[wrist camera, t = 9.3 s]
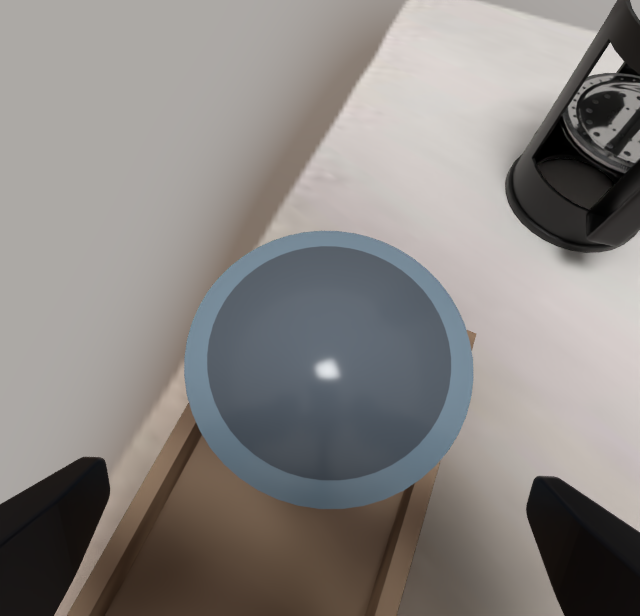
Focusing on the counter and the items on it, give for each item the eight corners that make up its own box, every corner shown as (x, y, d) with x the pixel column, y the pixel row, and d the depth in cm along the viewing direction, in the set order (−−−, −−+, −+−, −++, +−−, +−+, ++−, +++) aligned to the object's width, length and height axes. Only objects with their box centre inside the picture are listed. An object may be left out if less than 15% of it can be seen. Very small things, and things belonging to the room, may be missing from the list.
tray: (327, 796, 16) (330, 848, 13) (73, 643, 17) (38, 665, 15) (460, 349, 23) (476, 333, 21) (276, 277, 25) (272, 255, 23)
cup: (404, 448, 20) (536, 389, 9) (298, 527, 19) (281, 587, 7) (333, 349, 23) (361, 192, 11) (233, 412, 21) (136, 310, 9)
